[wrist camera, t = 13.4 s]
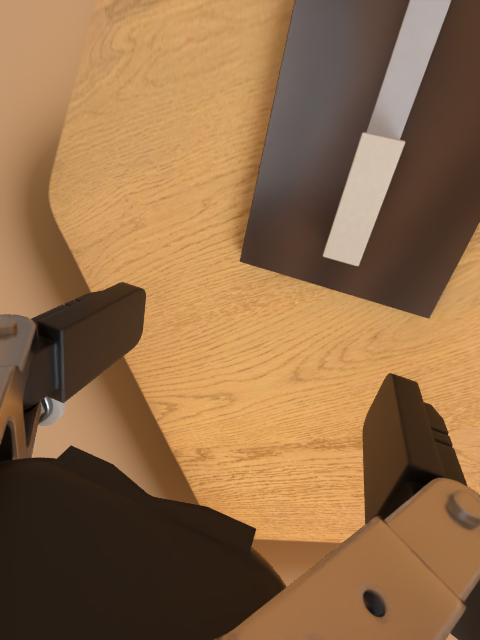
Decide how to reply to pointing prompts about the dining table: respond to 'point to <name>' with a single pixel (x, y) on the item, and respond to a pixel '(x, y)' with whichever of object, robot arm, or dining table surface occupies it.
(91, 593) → the robot arm
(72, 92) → the dining table surface
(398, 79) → the knife
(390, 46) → the cutting board
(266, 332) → the dining table surface
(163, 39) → the dining table surface
